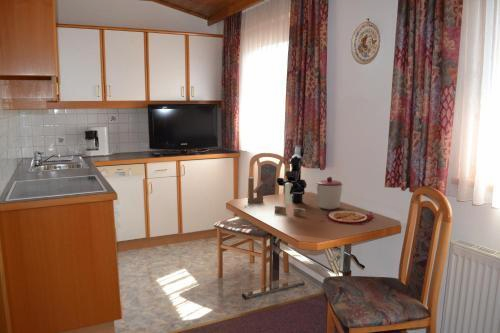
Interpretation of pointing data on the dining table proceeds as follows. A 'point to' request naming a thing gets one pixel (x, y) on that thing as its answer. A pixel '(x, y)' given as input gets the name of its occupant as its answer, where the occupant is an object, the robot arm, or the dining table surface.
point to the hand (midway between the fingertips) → (287, 193)
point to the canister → (329, 193)
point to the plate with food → (348, 217)
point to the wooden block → (255, 191)
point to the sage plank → (288, 193)
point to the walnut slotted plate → (296, 211)
